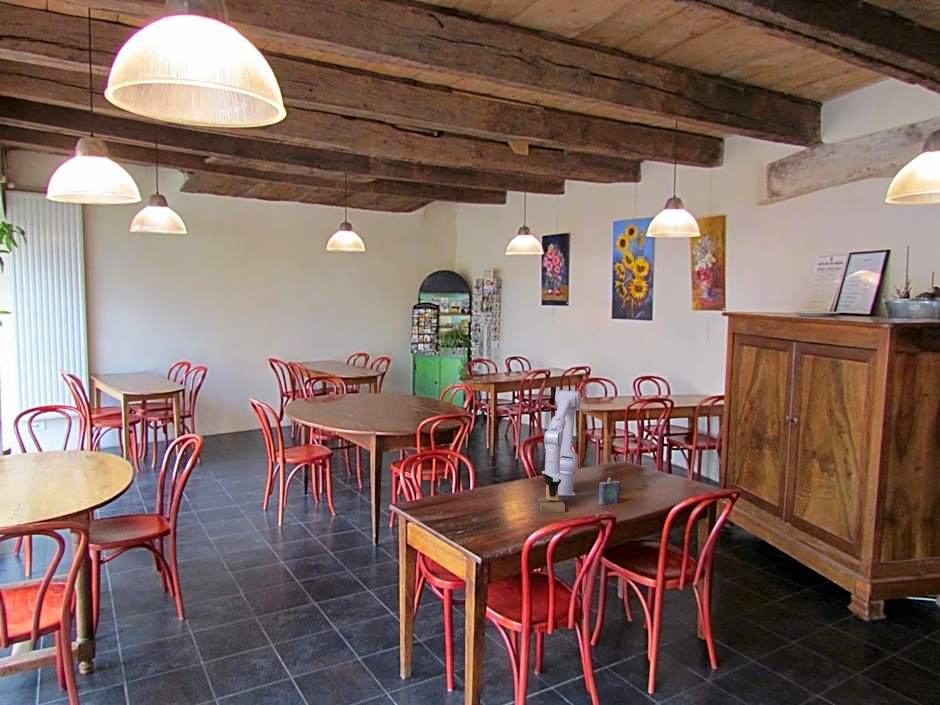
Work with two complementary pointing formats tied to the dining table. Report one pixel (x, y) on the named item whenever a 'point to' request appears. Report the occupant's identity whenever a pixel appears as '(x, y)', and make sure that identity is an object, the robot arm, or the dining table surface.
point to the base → (551, 505)
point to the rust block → (549, 495)
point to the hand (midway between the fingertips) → (551, 494)
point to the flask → (609, 492)
